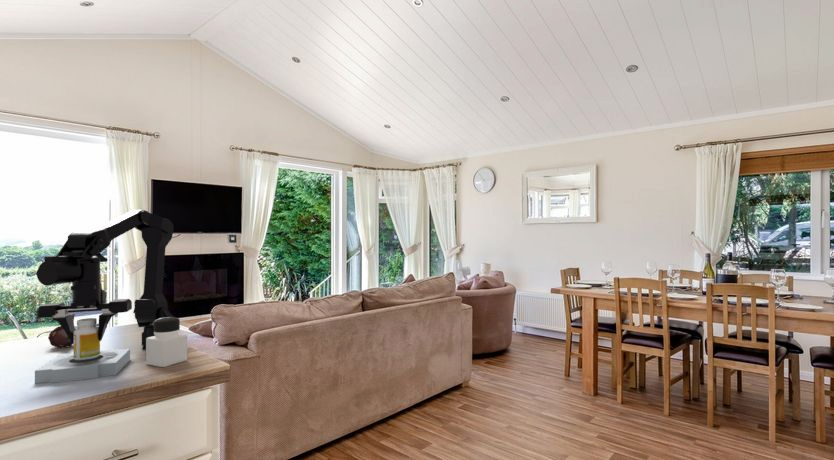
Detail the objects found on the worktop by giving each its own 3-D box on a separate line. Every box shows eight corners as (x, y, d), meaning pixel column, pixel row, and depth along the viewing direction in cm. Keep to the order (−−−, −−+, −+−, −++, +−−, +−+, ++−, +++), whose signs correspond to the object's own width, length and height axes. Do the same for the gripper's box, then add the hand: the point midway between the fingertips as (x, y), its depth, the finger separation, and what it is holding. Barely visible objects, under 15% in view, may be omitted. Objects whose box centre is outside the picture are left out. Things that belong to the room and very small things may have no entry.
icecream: (86, 327, 133) (76, 325, 143) (55, 325, 128) (48, 322, 138) (79, 350, 131) (70, 346, 141) (48, 349, 126) (41, 345, 136)
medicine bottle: (187, 360, 119) (187, 316, 119) (163, 367, 112) (163, 321, 112) (170, 357, 122) (170, 314, 122) (145, 364, 115) (145, 319, 115)
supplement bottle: (105, 354, 113) (105, 317, 113) (87, 360, 108) (87, 321, 108) (86, 354, 114) (86, 317, 114) (67, 360, 108) (67, 321, 108)
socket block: (131, 358, 121) (131, 347, 121) (114, 376, 106) (114, 363, 106) (60, 365, 115) (60, 354, 115) (32, 384, 100) (32, 371, 100)
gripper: (136, 276, 122) (136, 331, 122) (54, 279, 115) (54, 338, 115) (126, 280, 111) (126, 340, 111) (35, 283, 104) (35, 348, 104)
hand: (86, 341), depth 111 cm, fingers closed on supplement bottle, 5 cm apart
